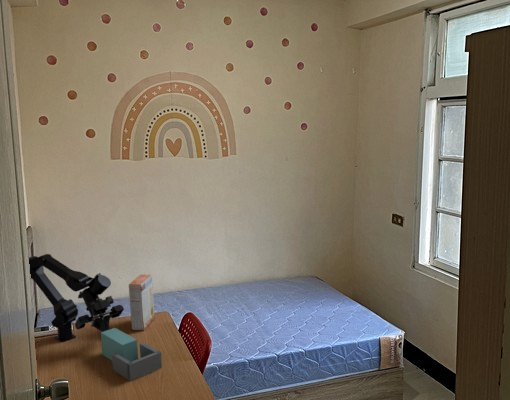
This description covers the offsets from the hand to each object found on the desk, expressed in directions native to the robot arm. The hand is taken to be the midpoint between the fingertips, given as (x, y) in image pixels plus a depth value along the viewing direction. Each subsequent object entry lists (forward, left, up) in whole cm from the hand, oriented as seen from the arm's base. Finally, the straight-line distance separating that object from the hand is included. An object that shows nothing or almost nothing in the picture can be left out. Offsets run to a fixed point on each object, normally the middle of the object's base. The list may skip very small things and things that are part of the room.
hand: (108, 335), depth 194 cm
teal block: (+8, 0, -7) cm, 11 cm away
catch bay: (+20, 0, -7) cm, 21 cm away
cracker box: (-13, +24, -7) cm, 28 cm away
